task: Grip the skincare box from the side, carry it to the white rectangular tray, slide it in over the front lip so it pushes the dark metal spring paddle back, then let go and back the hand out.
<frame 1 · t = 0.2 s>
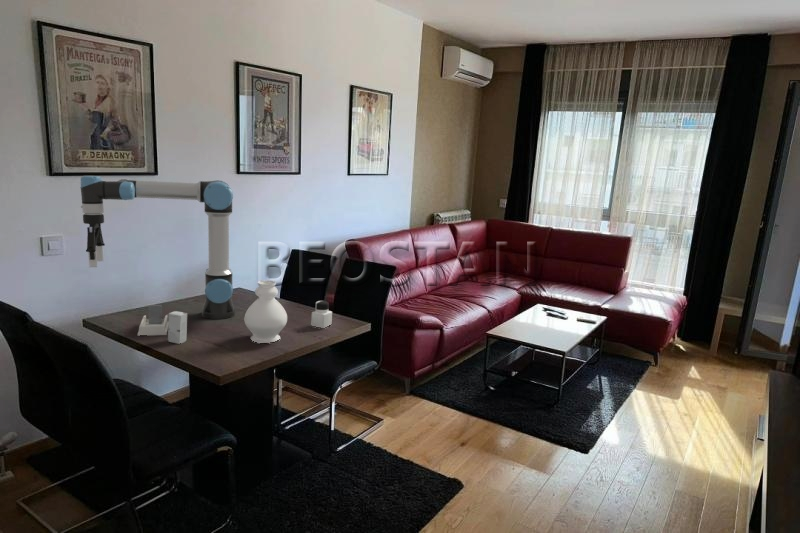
hand: (96, 264, 223), 27 cm above the table, tool pointing down, fingers open, 13 cm apart
white rectangular tray: (154, 329, 230), on the table
skincare box: (177, 341, 218), on the table
spring paddle: (155, 314, 234), point 5 cm above the table, slide at 0.0 cm
decorative vase: (265, 339, 229), on the table
medicine bottle: (321, 326, 251), on the table
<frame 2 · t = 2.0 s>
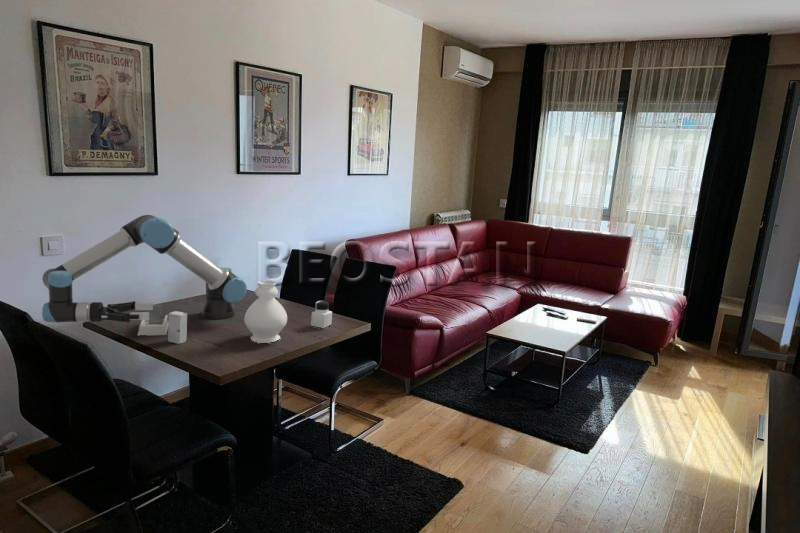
hand: (150, 311, 212), 13 cm above the table, tool horizontal, fingers open, 13 cm apart
nothing on the table moved.
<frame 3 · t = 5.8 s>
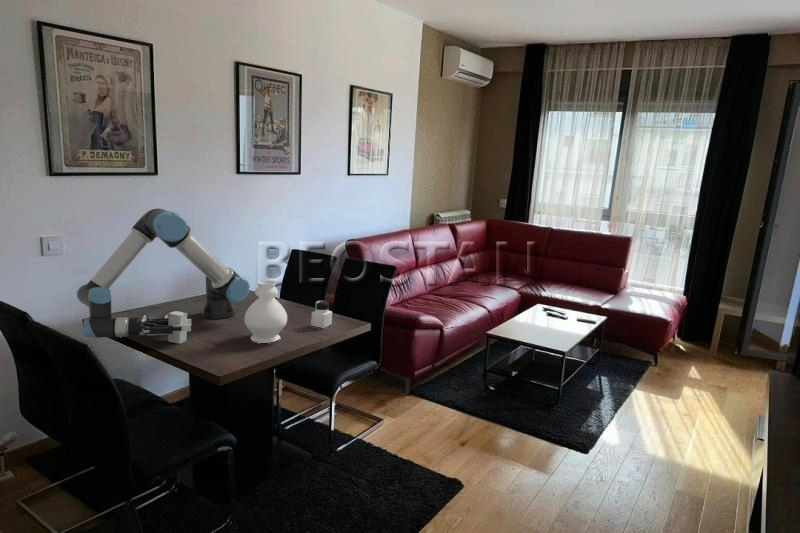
hand: (190, 325, 218), 7 cm above the table, tool horizontal, fingers closed on skincare box, 7 cm apart
skincare box: (177, 341, 218), on the table, touching gripper
everything else where it was.
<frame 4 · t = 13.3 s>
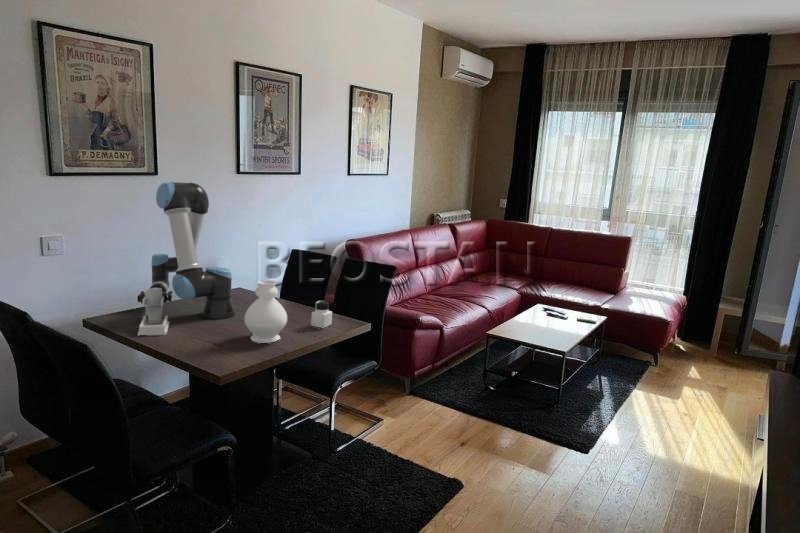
hand: (152, 303, 233), 10 cm above the table, tool horizontal, fingers closed on skincare box, 7 cm apart
skincare box: (154, 315, 239), point 3 cm above the table, touching gripper
spring paddle: (155, 315, 233), point 5 cm above the table, slide at 1.3 cm, touching gripper
everything else where it was.
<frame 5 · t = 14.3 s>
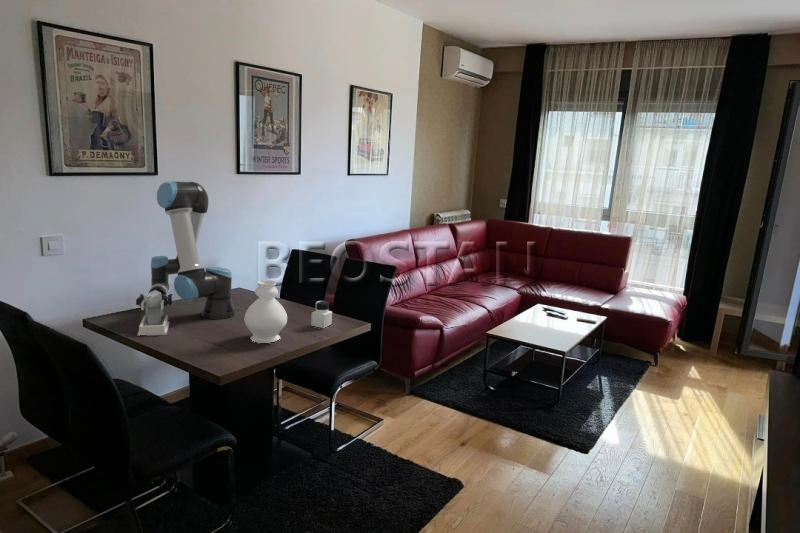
hand: (152, 306, 228), 10 cm above the table, tool horizontal, fingers closed on skincare box, 7 cm apart
skincare box: (154, 316, 237), point 3 cm above the table, touching gripper
spring paddle: (154, 316, 231), point 5 cm above the table, slide at 4.0 cm
everything else where it was.
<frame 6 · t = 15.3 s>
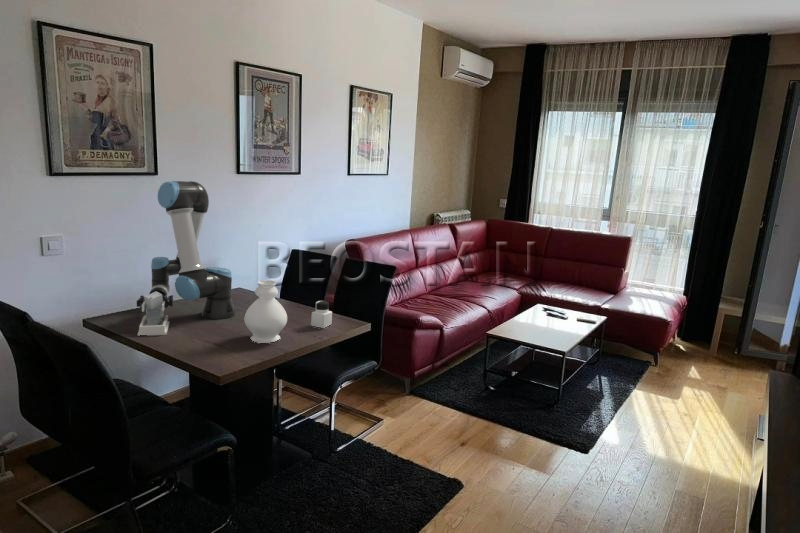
hand: (152, 308, 226), 10 cm above the table, tool horizontal, fingers closed on skincare box, 7 cm apart
skincare box: (155, 318, 234), point 3 cm above the table, touching gripper, spring paddle
spring paddle: (153, 318, 228), point 5 cm above the table, slide at 6.5 cm, touching skincare box
everything else where it was.
when the fingers open (10 cm above the table, at t = 16.2 s): skincare box drops 3 cm, resting on white rectangular tray, spring paddle.
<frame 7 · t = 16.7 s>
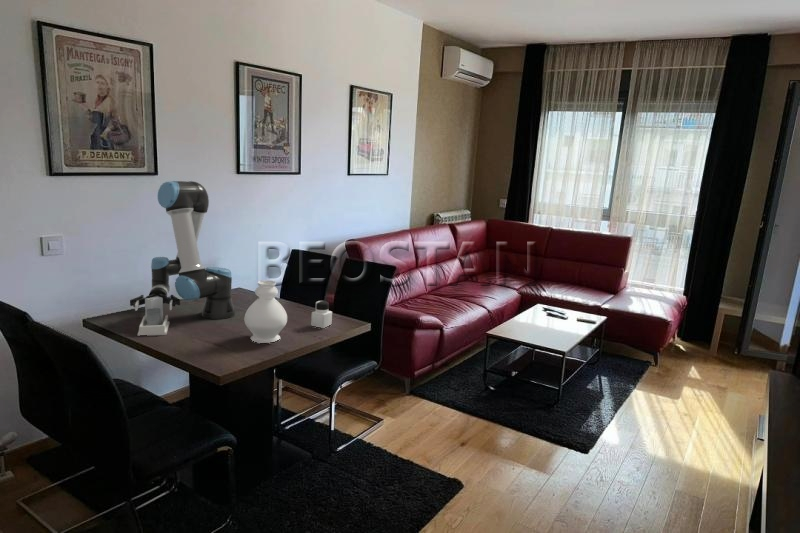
hand: (153, 307, 227), 10 cm above the table, tool horizontal, fingers open, 13 cm apart
skincare box: (154, 325, 233), point 1 cm above the table, touching white rectangular tray, spring paddle
spring paddle: (153, 318, 229), point 5 cm above the table, slide at 5.9 cm, touching skincare box
everything else where it was.
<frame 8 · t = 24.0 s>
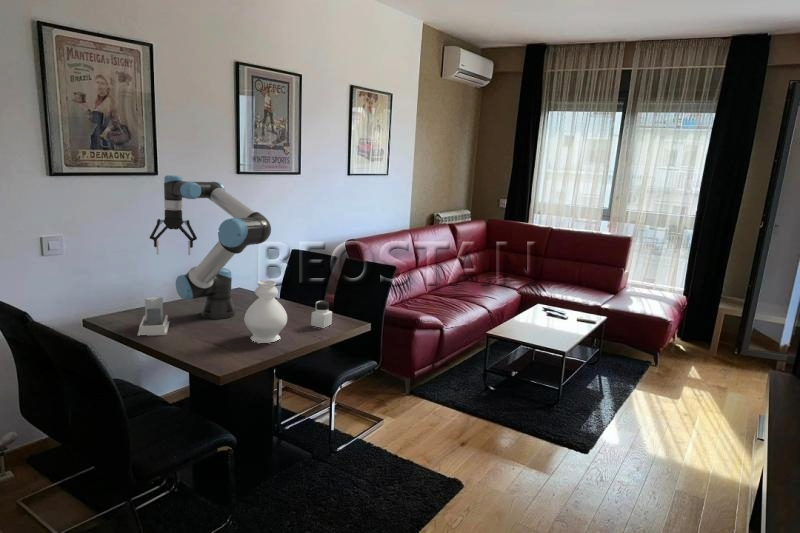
hand: (173, 254, 249), 29 cm above the table, tool pointing down, fingers open, 13 cm apart
nothing on the table moved.
at the end: skincare box inside the target area on the white rectangular tray (1.1 cm from its centre), point 0.8 cm above the white rectangular tray's base; skincare box tilted 0°; spring paddle slide at 5.9 cm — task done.
